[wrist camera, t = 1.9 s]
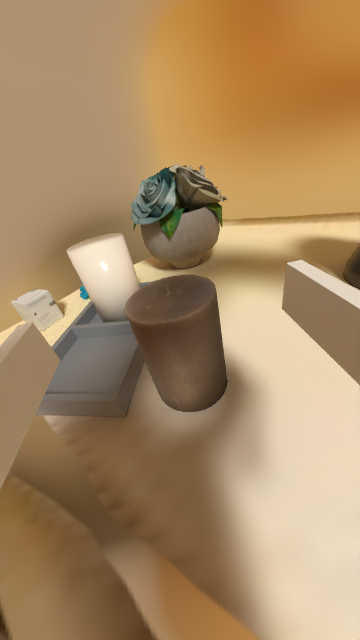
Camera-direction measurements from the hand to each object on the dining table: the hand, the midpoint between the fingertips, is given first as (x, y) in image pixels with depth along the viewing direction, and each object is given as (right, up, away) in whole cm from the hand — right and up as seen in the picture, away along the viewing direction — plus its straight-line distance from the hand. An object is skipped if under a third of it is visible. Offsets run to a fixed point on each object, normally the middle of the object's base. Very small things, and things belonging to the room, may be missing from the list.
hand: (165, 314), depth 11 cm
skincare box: (-31, -1, +41) cm, 51 cm away
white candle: (-11, +1, +35) cm, 37 cm away
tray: (-12, -4, +30) cm, 32 cm away
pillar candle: (+2, -9, +18) cm, 21 cm away
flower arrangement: (+3, +17, +53) cm, 56 cm away
